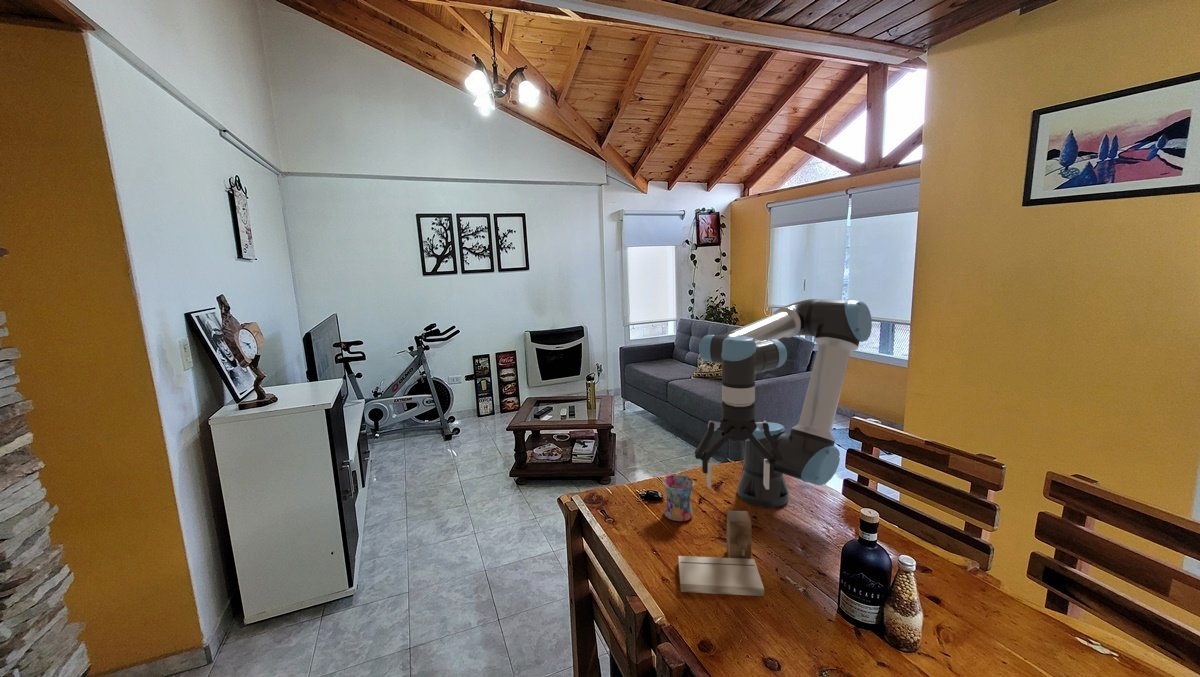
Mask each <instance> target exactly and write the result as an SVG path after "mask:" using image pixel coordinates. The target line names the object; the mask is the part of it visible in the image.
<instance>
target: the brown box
mask: <svg viewBox="0 0 1200 677" xmlns="http://www.w3.org/2000/svg"><path fill="white" fill-rule="evenodd" d="M752 526H753V525H752V520H751V517H750V514H749V512H748V510H726V552H727V553H726V554H727V558H743V559H752Z"/></svg>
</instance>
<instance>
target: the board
mask: <svg viewBox="0 0 1200 677" xmlns="http://www.w3.org/2000/svg"><path fill="white" fill-rule="evenodd" d="M677 558H678V562H677V563H678V575H679V586H680V592H681V593H695V594H697V593H698V594H711V595H712V594H717V595H734V596H755V597H756V596H757V597H765V587H764V584H763V580H762V578H761V575H760V572H759V570H758V566H757V563H756V561H755V560H756V559H755V558H751V559H743V558H729V557H716V556H715V557H714V556H696V555H695V556H693V555H689V556H688V555H687V556H686V555H678V557H677Z"/></svg>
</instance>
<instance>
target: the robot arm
mask: <svg viewBox="0 0 1200 677" xmlns="http://www.w3.org/2000/svg"><path fill="white" fill-rule="evenodd" d="M872 321H873V320H872V315H871V311H870V308H869V307H868V305H867V304H866V303H865V302H864V301H862V300H855V299H853V300H852V299H831V298H830V299H825V298H824V299H821V298H809V299H804V300H800V301H797V302H793V303H790V304H787V305H785V306H782V307H780V308H777V309H776V310H775V311H774V313H773V314H771V315H769V316H766V317H763V318H760V319H759V320H755V321H754V322H751V323H748V324H746V325H744V326H741V327H739V328H737V329H734V330H732V331H729V332H726V333H723V334H721V335H719V334H718V335H717V334H706V335H704V336H703V337H702V338H701V340H700V341H699V344H698V345H699V346H698V349H699V351H698V352H699V355H700V358H701V359H702V360H703V361H705V362H709V363H712V364H717V365H718V364H719V365H721V369H722V377H721V379H722V381H721V401H722V403H721V420H720V421H714V420H713V419H709V420H708V421H707V428H706V430H705V432H704V434H703V436H702V438H701V439H700V441H699V444H698V445H697V448H695V451H694V456H695V457H694V458H695V459H696V460H700V461H701V463H702V464H701V469H702V474H706V486H707V488H708V489H710V488H712V461H711V458H712V457H713V455H715V453H716V452H718V450H719V449H720V448H721V447H722V446H723V445H724V444H725V443H727V442H728V441H729V440H731V442H735V441H741V442H743V471H742V474H741V476H740V478H739V482H738V484H737V495H738V497H739V499H740V500H742V501H743V502H745V503H747V504H750V505H752V506H755V507H760V508H767V509H771V508H773V509H774V508H779V507H783V506H785V505H786V504H787V503H788V502H789V499H790V497H789V496H790V494H789V492H790V491H789V489H788V485H787V482H786V479H785V477H784V475H786V476H789V477H791V478H794V479H797V480H801V481H802V482H803V483H809V484H812V485H815V486H823V485H826V484H827V483H828V482H829V481H830V480H831V479H833V477H834V475H835V474H836V472H837V470H838V468H839V464H840V461H841V458H840V456H841V454H840V451H839V448H837V447H836V446H835V442H836V440H835V438H834V436H833V435H832V430H833V427H834V426H833V425H834V420H835V418H836V417H835V416H836V414H837V409H838V405H839V401H840V398H841V394H842V389H843V385H844V381H845V377H846V373H847V368H848V364H849V360H850V356H851V353H853V352H855V351H856V350H859V349H858V348H859V346H860V343H863V342H866V341H868V340H869V338H870V336H871V333H872V327H873V326H872V325H873V323H872ZM796 336H805V337H806V336H808V337H814V342H815V343H816V345H817V351H816V355H815V357H814V358H815V359H814V363H813V366H812V370H811V374H810V377H809V383H808V386H807V390H806V394H805V398H804V401H803V405H802V409H801V412H800V417H799V422H798V423H797V424H796V425H794V426H793V427H791V430H790V433H786V429H785V426H784V425H783V424H780V423H777V422H770V421H769V422H768V421H767V420H765V419H763V420H761V421H757V422H756V421H755V419H756V418H755V411H756V408H755V407H756V404H755V403H754V402H756V374H759V373H764V372H768V371H774V370H777V368H778V369H779V368H780V367H782V366H783V365H784V364H785V363H786V361H787V358H788V352H787V348H786V346H785V344H784V343H783V342H781V341H780V339H783V338H788V339H790V338H792V337H793V338H794V337H796ZM719 428H720V429H721V433H719V435H718V437H717V438H716V439H714V441H712V443H711V444H710V445H709V446H708V444H709V443H710V440H711V438H712V437H713V435H714V432H716V431H717V430H718V429H719ZM707 446H708V447H707ZM705 449H706V450H705Z"/></svg>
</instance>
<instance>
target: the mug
mask: <svg viewBox="0 0 1200 677" xmlns="http://www.w3.org/2000/svg"><path fill="white" fill-rule="evenodd" d="M661 483H662V486H663V488H664V490H665V494H666V505H665V508H664V510H663V513H664V514H663V515H664V516H665V517H666V518H667V519H669V520H671V521H675V522H686V521H688V520H690V519H692V518H693V517H694V510H693V509H692V505H691V496H692V491H693V489H694V486H695V483H696V482H695V481H694V479H693V478H691V477H690V476H687V475H684V474H671V475H667V476H665V477H664V478H663V479H662V480H661Z"/></svg>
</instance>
